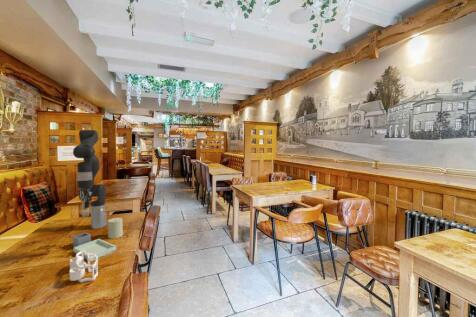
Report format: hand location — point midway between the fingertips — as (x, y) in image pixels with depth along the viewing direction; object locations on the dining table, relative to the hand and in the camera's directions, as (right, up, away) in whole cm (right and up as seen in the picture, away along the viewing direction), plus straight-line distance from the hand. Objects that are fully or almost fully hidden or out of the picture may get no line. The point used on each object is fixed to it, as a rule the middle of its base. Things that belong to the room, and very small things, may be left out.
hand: (85, 207), depth 126 cm
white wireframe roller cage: (+16, -28, -22) cm, 39 cm away
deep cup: (-6, -26, +6) cm, 27 cm away
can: (+6, -25, +20) cm, 33 cm away
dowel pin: (0, -6, 0) cm, 6 cm away
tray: (+7, -26, -2) cm, 27 cm away
